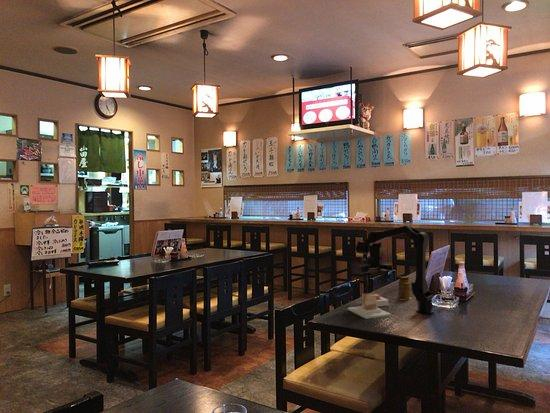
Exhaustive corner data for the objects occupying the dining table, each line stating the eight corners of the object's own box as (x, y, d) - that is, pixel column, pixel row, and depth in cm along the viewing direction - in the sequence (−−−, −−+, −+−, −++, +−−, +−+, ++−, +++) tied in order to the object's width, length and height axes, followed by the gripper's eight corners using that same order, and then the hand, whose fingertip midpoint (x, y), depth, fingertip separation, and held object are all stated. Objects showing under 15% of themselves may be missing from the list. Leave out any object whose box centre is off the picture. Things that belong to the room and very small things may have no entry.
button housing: (388, 305, 230) (388, 299, 230) (371, 307, 227) (371, 301, 226) (378, 301, 239) (378, 295, 239) (362, 302, 236) (362, 297, 236)
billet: (376, 311, 214) (375, 295, 214) (367, 312, 213) (367, 296, 213) (370, 309, 219) (370, 293, 219) (362, 309, 218) (361, 294, 217)
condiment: (412, 298, 246) (412, 277, 245) (402, 300, 241) (402, 279, 241) (402, 296, 252) (402, 275, 251) (392, 298, 247) (392, 277, 247)
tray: (391, 316, 209) (391, 310, 209) (365, 318, 205) (365, 313, 205) (371, 307, 227) (371, 302, 226) (347, 309, 222) (347, 304, 222)
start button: (381, 301, 231) (381, 295, 231) (373, 302, 230) (373, 296, 230) (376, 299, 236) (376, 293, 236) (369, 300, 234) (369, 294, 234)
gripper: (381, 252, 243) (382, 280, 243) (352, 253, 237) (352, 282, 237) (393, 254, 232) (393, 283, 232) (362, 256, 226) (362, 286, 227)
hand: (375, 283), depth 232 cm, fingers open, 8 cm apart
